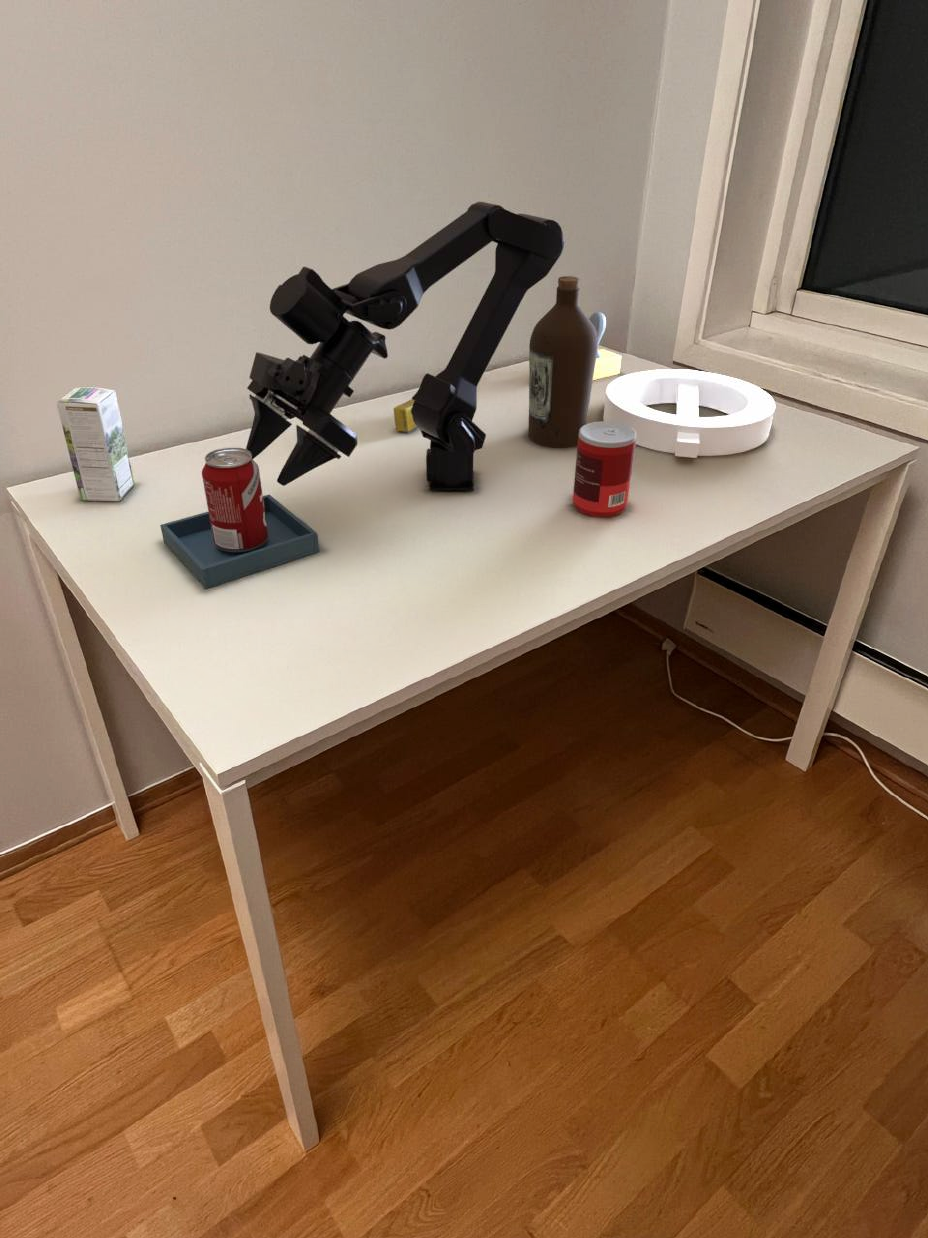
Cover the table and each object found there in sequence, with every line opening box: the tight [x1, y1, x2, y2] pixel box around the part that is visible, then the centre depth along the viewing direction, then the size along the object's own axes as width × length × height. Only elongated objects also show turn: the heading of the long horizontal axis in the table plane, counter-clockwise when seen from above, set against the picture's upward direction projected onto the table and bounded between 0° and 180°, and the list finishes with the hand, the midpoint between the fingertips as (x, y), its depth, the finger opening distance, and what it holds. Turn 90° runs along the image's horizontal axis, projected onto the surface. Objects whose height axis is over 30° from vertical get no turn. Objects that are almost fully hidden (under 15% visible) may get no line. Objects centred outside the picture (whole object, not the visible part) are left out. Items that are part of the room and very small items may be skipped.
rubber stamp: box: [588, 311, 622, 381], centre depth 162 cm, size 10×6×12 cm, turn 126°
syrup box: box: [56, 386, 135, 502], centre depth 116 cm, size 6×6×14 cm
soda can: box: [201, 446, 268, 553], centre depth 104 cm, size 7×7×12 cm
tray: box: [159, 494, 320, 590], centre depth 107 cm, size 15×14×3 cm
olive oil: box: [527, 275, 599, 448], centre depth 132 cm, size 11×11×25 cm
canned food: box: [572, 420, 637, 518], centre depth 116 cm, size 8×8×11 cm
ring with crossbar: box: [602, 368, 776, 459], centre depth 144 cm, size 28×28×5 cm
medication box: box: [393, 398, 418, 433], centre depth 143 cm, size 12×3×4 cm, turn 148°
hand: (263, 470), depth 104 cm, fingers open, 9 cm apart
